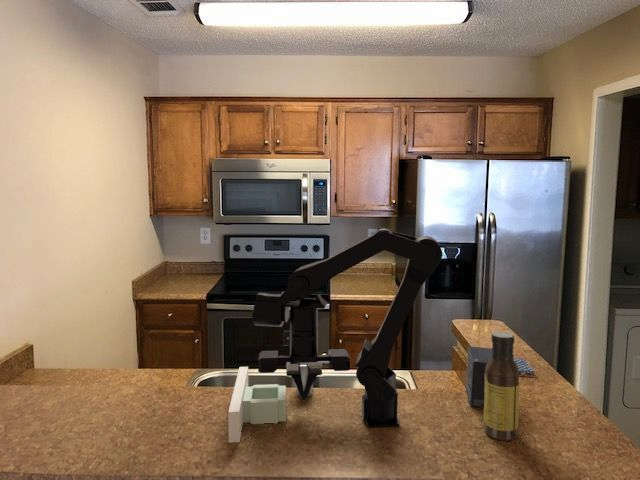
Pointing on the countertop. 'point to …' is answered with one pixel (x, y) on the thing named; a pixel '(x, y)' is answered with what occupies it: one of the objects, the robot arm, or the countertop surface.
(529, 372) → the woven mat
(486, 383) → the sauce bottle
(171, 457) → the countertop surface
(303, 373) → the grey square block
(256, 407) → the socket block
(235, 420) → the backstop wall
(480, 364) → the small box
